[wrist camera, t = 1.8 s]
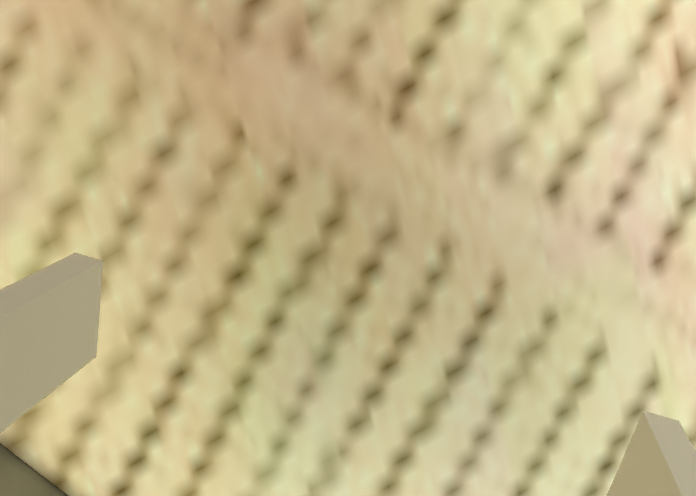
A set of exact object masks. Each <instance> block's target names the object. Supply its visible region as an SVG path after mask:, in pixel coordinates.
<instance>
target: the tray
mask: <svg viewBox="0 0 696 496" xmlns="http://www.w3.org/2000/svg"><path fill="white" fill-rule="evenodd" d="M0 496H67V495H66V494H65V493H63V492H62V491H61V490H59V489H58V488H57V487H56V486H54V485H53V484H52V483H50V482H49V481H48V480H46V479H45V478H44V477H43V476H41V475H40V474H39V473H37V472H36V471H35V470H33V469H32V468H31V467H30V466H28V465H27V464H26V463H24V462H23V461H22V460H20V459H19V458H18V457H17V456H15V455H14V454H13V453H11V452H10V451H9V450H7V449H6V448H5V447H4V446H2V445H1V444H0Z"/></svg>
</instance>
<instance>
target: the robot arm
mask: <svg viewBox="0 0 696 496" xmlns="http://www.w3.org/2000/svg"><path fill="white" fill-rule="evenodd" d="M102 266H103V261H102V260H99V259H95V258H91V257H88V256H84V255H81V254H77V253H74V254H72V255H70V256H68V257H66V258H64V259H62V260H60V261H58V262H56V263H54V264H52V265H50V266H48V267H46V268H44V269H41V270H39V271H37V272H35V273H33V274H31V275H29V276H27V277H25V278H23V279H21V280H19V281H17V282H15V283H13V284H11V285H9V286H7V287H5V288H3V289H1V290H0V433H1V432H2V431H3V430H5V429H6V428H7V427H8V426H10V425H11V424H12V423H13V422H15V421H16V420H17V419H18V418H20V417H21V416H22V415H23V414H25V413H26V412H27V411H29V410H30V409H31V408H32V407H34V406H35V405H36V404H37V403H39V402H40V401H41V400H42V399H44V398H45V397H46V396H47V395H49V394H50V393H51V392H52V391H54V390H55V389H56V388H57V387H59V386H60V385H61V384H62V383H64V382H65V381H66V380H68V379H69V378H70V377H71V376H73V375H74V374H75V373H76V372H78V371H79V370H80V369H81V368H83V367H84V366H85V365H86V364H88V363H89V362H90V361H91V360H93V359H94V358H95V357H96V352H97V338H98V324H99V309H100V295H101V281H102ZM607 496H696V451H695V450H694V448H693V446H692V444H691V442H690V440H689V439H688V437H687V435H686V433H685V431H684V429H683V428H682V426H681V424H680V422H679V421H677V420H674V419H670V418H667V417H663V416H659V415H656V414H652V413H649V412H645V411H643V413H642V415H641V418H640V420H639V422H638V425H637V427H636V429H635V432H634V434H633V436H632V439H631V441H630V443H629V446H628V448H627V450H626V452H625V455H624V457H623V459H622V462H621V464H620V466H619V469H618V471H617V473H616V476H615V478H614V480H613V483H612V485H611V487H610V490H609V492H608V494H607Z"/></svg>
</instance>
